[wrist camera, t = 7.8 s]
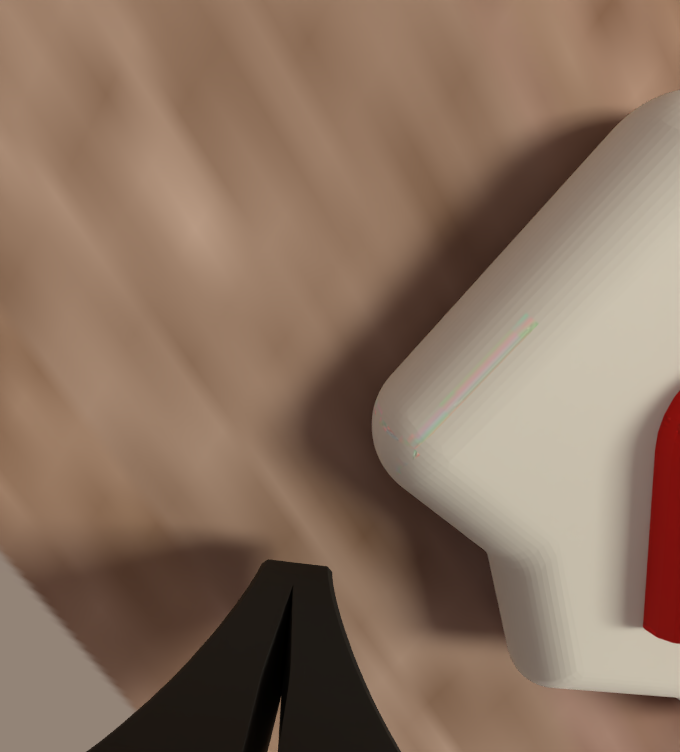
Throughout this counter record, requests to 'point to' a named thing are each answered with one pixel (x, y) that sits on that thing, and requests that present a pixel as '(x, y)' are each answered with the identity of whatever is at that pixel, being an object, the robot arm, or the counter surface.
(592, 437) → the icon
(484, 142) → the counter surface
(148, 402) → the counter surface
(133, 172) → the counter surface
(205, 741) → the robot arm
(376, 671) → the counter surface
